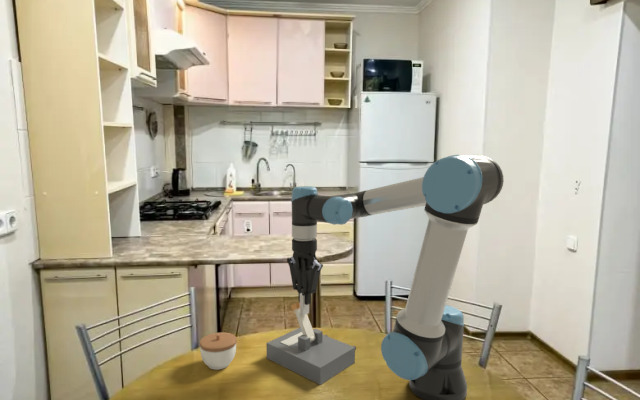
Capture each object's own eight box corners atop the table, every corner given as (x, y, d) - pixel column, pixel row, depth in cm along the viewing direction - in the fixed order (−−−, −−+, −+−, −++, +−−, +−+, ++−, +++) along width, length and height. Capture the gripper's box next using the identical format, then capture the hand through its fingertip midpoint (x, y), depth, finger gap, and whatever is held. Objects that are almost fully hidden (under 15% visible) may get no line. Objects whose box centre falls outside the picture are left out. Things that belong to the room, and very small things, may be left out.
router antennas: (356, 349, 136) (357, 346, 136) (343, 357, 131) (343, 354, 131) (325, 337, 145) (325, 333, 145) (311, 344, 140) (311, 341, 139)
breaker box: (354, 362, 128) (355, 336, 127) (320, 384, 116) (320, 355, 115) (302, 340, 142) (302, 316, 141) (266, 358, 130) (266, 332, 129)
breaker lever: (317, 339, 129) (303, 300, 131) (309, 343, 126) (295, 303, 129) (313, 340, 130) (299, 302, 133) (305, 344, 128) (290, 305, 130)
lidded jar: (228, 375, 120) (227, 344, 119) (193, 371, 123) (192, 341, 121) (242, 357, 131) (241, 328, 130) (210, 354, 133) (209, 325, 132)
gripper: (329, 239, 125) (328, 315, 128) (297, 233, 133) (297, 304, 136) (312, 243, 119) (312, 323, 122) (280, 237, 128) (280, 311, 130)
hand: (304, 313), depth 129 cm, fingers closed
